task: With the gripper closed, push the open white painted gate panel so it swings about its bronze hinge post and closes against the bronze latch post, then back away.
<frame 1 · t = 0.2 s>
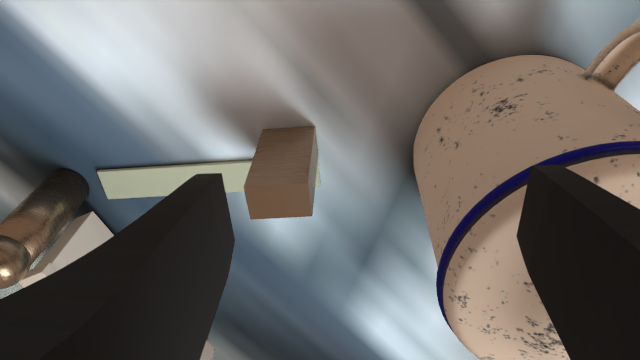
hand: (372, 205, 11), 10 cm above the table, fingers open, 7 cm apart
teacup with lid: (524, 116, 21), on the table
latch post: (290, 142, 22), on the table
gate: (135, 322, 24), point 3 cm above the table, hinge at -70.0°
sill strip: (209, 177, 23), on the table
hinge post: (69, 185, 23), on the table
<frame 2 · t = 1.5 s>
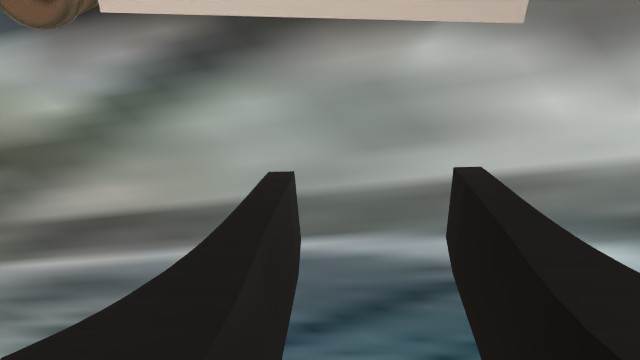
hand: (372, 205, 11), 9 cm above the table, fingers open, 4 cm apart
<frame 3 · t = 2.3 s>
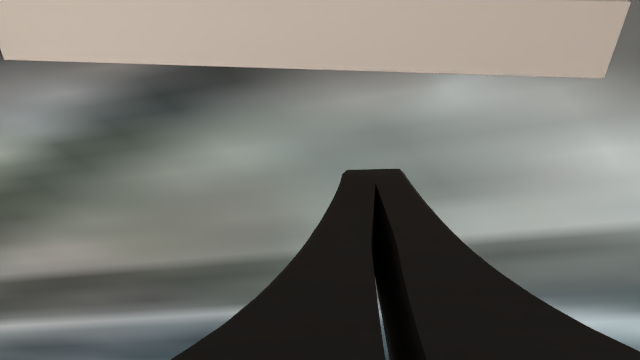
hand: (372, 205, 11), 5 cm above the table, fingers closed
gate: (306, 6, 11), point 3 cm above the table, hinge at -70.0°
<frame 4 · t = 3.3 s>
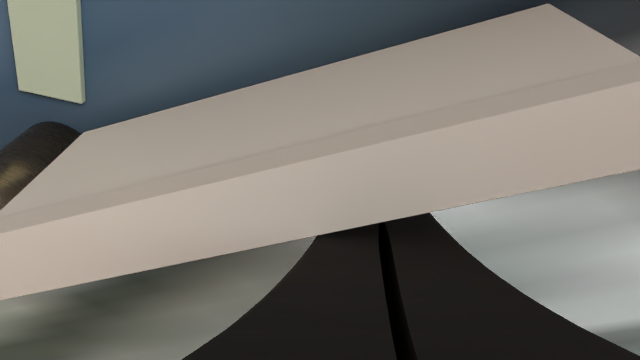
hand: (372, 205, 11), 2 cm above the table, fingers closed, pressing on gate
gate: (291, 141, 9), point 3 cm above the table, hinge at -60.4°, touching gripper
hinge post: (59, 153, 13), on the table
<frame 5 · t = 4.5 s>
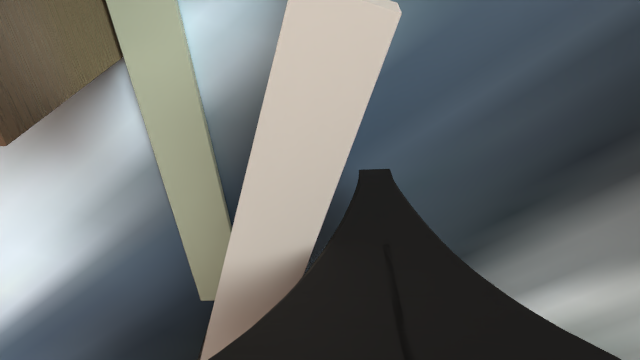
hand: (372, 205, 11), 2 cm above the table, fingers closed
latch post: (79, 7, 11), on the table
gate: (268, 234, 11), point 3 cm above the table, hinge at -21.5°, touching gripper
sill strip: (187, 159, 13), on the table
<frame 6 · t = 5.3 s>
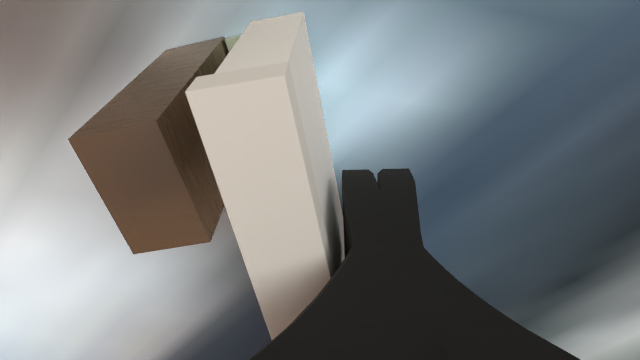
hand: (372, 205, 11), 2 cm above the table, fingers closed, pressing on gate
latch post: (211, 89, 12), on the table
gate: (319, 280, 11), point 3 cm above the table, hinge at -2.7°, touching gripper
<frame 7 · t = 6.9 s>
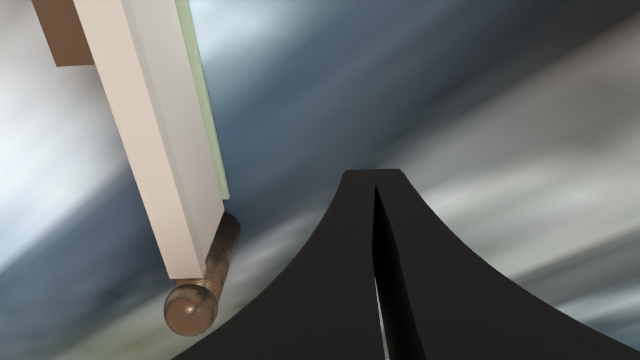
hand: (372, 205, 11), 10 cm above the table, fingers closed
gate: (167, 124, 18), point 3 cm above the table, hinge at 0.7°
sill strip: (190, 96, 21), on the table
hinge post: (221, 226, 24), on the table
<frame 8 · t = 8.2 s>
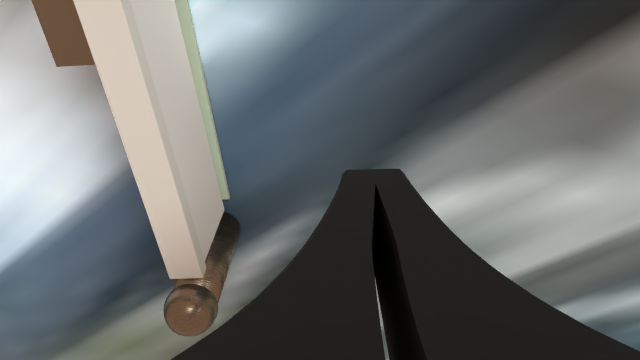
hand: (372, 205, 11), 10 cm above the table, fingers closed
gate: (167, 124, 18), point 3 cm above the table, hinge at 0.7°
sill strip: (190, 96, 21), on the table
hinge post: (221, 226, 24), on the table
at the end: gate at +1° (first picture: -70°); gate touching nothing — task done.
